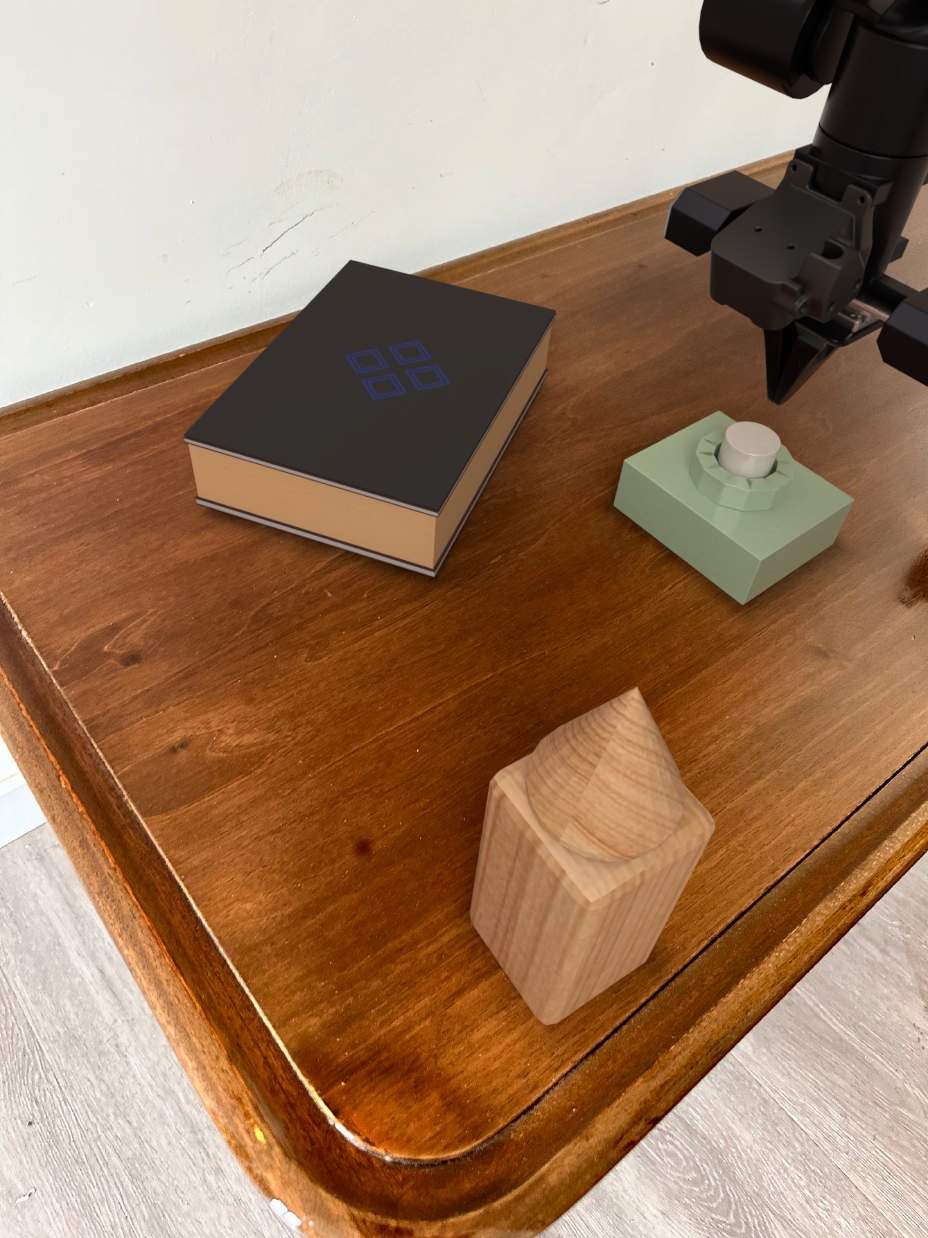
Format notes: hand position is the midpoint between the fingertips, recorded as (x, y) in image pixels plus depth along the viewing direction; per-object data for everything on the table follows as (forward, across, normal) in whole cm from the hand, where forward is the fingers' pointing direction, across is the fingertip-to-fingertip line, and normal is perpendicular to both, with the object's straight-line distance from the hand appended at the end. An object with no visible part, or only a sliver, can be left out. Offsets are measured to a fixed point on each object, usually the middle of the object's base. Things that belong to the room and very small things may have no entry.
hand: (777, 400), depth 58 cm
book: (+12, -22, -13) cm, 28 cm away
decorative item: (+12, +14, -29) cm, 34 cm away
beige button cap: (+6, -1, +1) cm, 6 cm away
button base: (+12, -1, +1) cm, 12 cm away
